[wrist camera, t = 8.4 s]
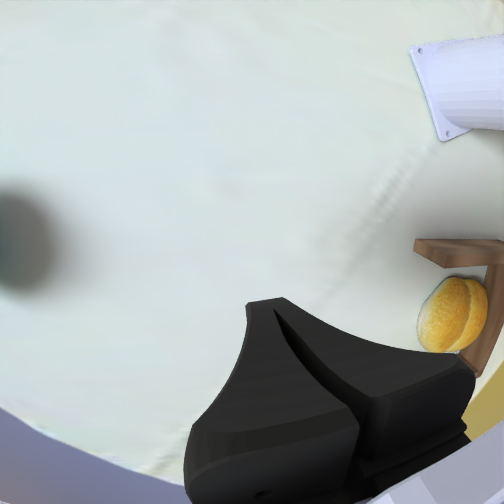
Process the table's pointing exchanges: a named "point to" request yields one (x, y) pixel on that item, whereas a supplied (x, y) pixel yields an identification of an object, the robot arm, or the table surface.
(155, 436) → the table surface
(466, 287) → the bread roll
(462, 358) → the box
